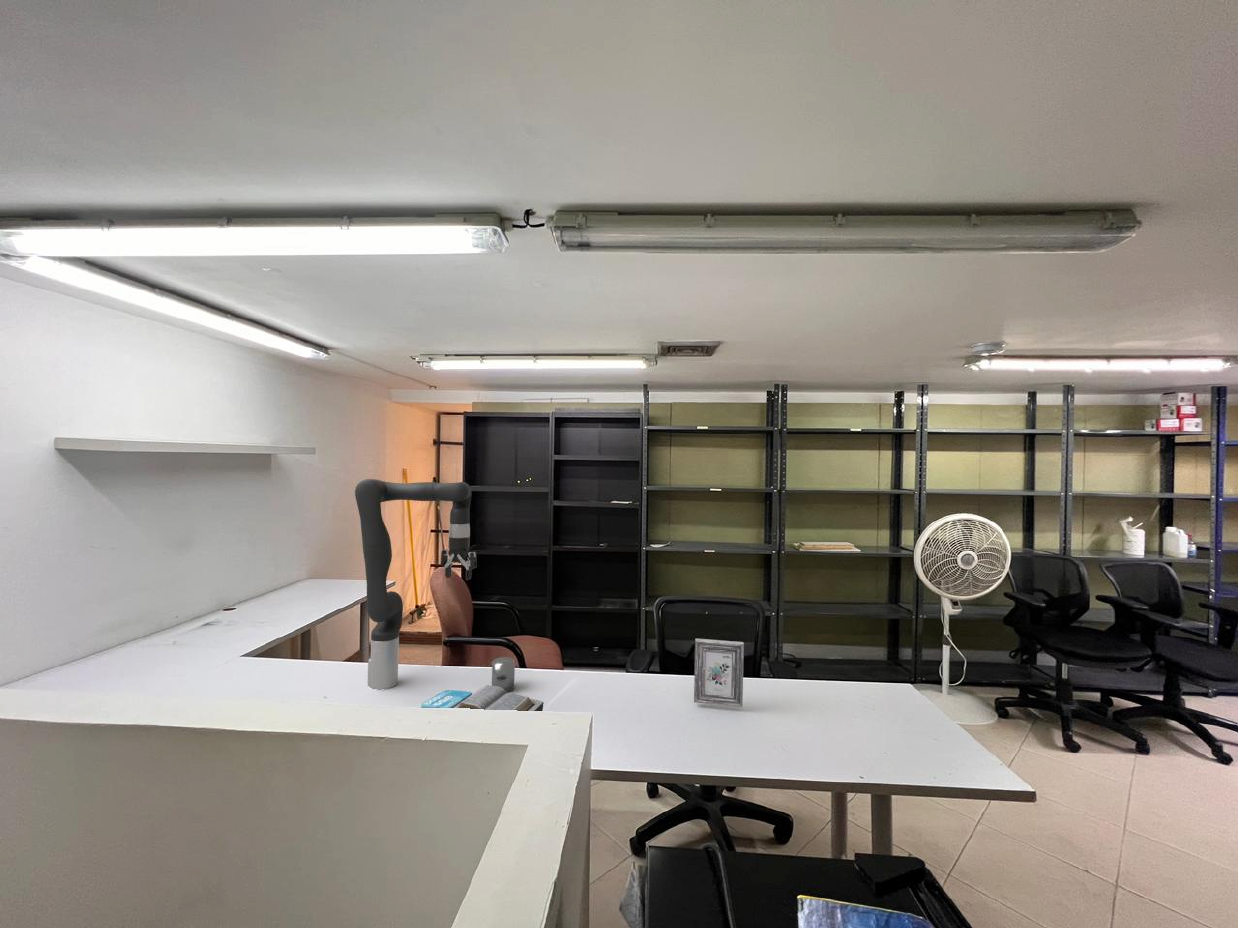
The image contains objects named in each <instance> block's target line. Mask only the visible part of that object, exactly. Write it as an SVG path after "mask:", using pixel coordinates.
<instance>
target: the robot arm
mask: <svg viewBox="0 0 1238 928" xmlns="http://www.w3.org/2000/svg"><path fill="white" fill-rule="evenodd" d="M354 497H355V501H356V505H357V509H358V515H359V519H360V520H359V522H360V530H361V541H362V553H363V560H364V567H365V579H366V611H367V615H368V616H369V619H370V620H371V621H372V622H374V623H376V625H375V627H374V628H373V629H372V630H371V634H370V658H369V659H368V660H367V687H369V688H370V689H371V688H372V689H371V690H374V689H377V690H376V691H382V690H381V689H384V690H388V689H391V688H394V687H396V685H398V682H399V681H398V680H399V654H400V653H399V652H400V651H399V649H400V631H401V628H402V625H403V624H402V623H403V614H404V613H403V611H404V603H403V599H402V597H401V595H400V594H399V593H398V592H396V591H391V590H390V591H387V588H388V587H387V580H388V579H387V578H388V573H389V572H390V571H389V570H390V567H391V563H392V557H393V549H392V541H391V536H390V534H389V532H388V528H387V527H386V524H385V521H384V519H383V514H382V503H384V502H389V501H401V500H402V501H414V502H416V501H417V502H441V501H443V502H452V505H451V509H450V512H449V527H448V549H443V550H441V553H440V554H441V555H440V566H441V567H444V569H445V570H444V572H445V573H444V574H445V575H444V576H445V578H446V579H449V578H451V577H452V566H453V564H454V563H455V564H456V563H458V564H462V566H464V568H465V569H466V570H465V581H470V580H471V579H472V574H473V573H472V571H473V569H476V568H477V567H478V564H477V563H478V559H477V557H478V555H477V554H478V553H477V552H476V551H472V552H471V551H470V547H471V546H470V543H471V541H470V540H471V526H470V516H471V515H470V509H471V503H472V502H471V501H472V488H471V486H470V485H469V484H468V483H467V482H464V481H461V482H444V483H442V482H435V481H432V482H431V481H429V482H428V481H427V482H426V481H425V482H424V481H423V482H408V483H407V482H405V483H400V482H389V481H383V480H379V479H377V478H376V479H375V478H369V479H368V478H366V479H362V480H360V481H359V482H358V483H357V484H356V486H355V490H354Z"/></svg>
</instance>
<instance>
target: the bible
mask: <svg viewBox="0 0 1238 928" xmlns="http://www.w3.org/2000/svg"><path fill="white" fill-rule="evenodd" d="M544 704H545V703H544V701H542V700H537V699H534V698H530V697H529V696H528V695H527V696H526V695H523V694H520V693H516V692H514V691H512V692H510V693H506V692H505V690H504V689H503V688H501V687H498V686H492V684H491V685H490V684H486V685H485V686H483V687H482V688H479V689H478V690H477V691H475V692H474V693H472V695H471V696H469V697H468V698H467V699H465V700H464V701H462V702H461V703H460V704H458V705H457V706H455V707H454V708H470V709H484V710H517V711H544Z"/></svg>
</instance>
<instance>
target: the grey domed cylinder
mask: <svg viewBox="0 0 1238 928" xmlns="http://www.w3.org/2000/svg"><path fill="white" fill-rule="evenodd" d="M515 664H516V659H515V658H513V657H510V656H501V657H497V658H494V659H493V660H492V662H491V665H492V666H491V686H498V687H501V688H503V689H504V690H505V692H506V693H510V692H514V690H515V674H516V673H515V672H516V671H515V670H516V665H515Z"/></svg>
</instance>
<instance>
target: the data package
mask: <svg viewBox="0 0 1238 928" xmlns="http://www.w3.org/2000/svg"><path fill="white" fill-rule="evenodd" d="M472 694H473V692H471V691H467V690H466V691H462V690H454V689H446V690H443V691H441V692H440V693H438V694H435V695H434V696H432V697H431V698H429V699H428V700H426V701H424V702H422V703H421V704H420V706H421V707H420V708H454V707H455V706H457V705H458V704H460V703H461V702H462V701H464V700H465V699H467V698H468V697H469V696H471V695H472Z"/></svg>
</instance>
